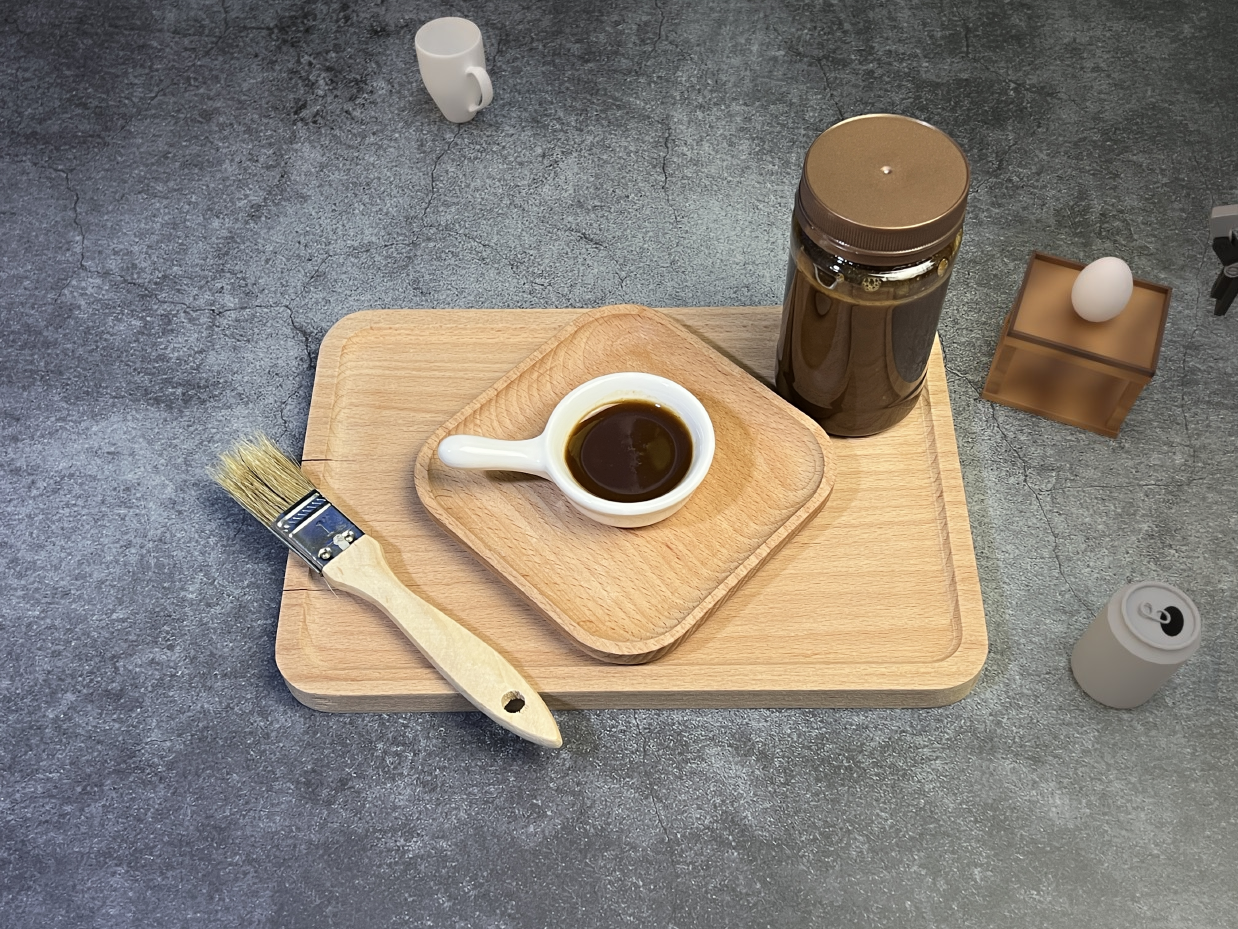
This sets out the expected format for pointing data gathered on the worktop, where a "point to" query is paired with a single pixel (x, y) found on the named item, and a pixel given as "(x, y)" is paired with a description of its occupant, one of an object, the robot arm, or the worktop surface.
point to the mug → (454, 67)
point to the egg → (1102, 289)
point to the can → (1136, 643)
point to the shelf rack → (1075, 350)
